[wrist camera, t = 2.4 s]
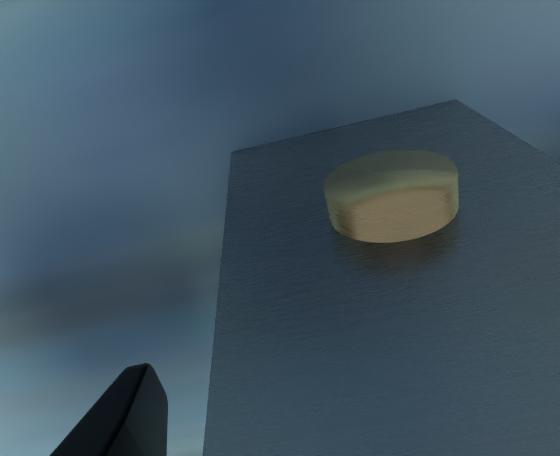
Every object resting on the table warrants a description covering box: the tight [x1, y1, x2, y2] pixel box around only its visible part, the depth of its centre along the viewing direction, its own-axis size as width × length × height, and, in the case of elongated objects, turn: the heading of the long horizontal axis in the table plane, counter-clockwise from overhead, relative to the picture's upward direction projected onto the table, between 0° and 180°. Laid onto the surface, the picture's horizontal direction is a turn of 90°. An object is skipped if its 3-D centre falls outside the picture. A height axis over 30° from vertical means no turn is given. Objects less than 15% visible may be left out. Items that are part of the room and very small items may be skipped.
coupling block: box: [203, 100, 560, 456], centre depth 8 cm, size 6×5×8 cm
